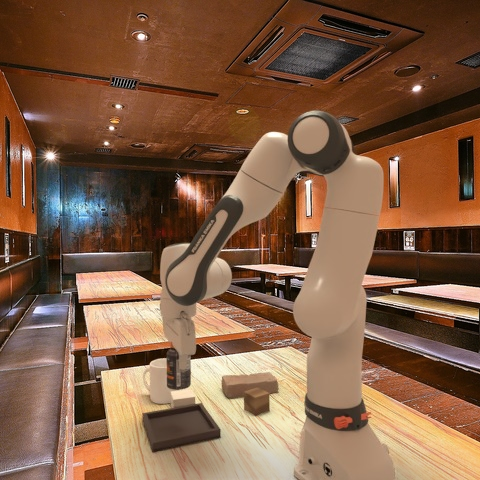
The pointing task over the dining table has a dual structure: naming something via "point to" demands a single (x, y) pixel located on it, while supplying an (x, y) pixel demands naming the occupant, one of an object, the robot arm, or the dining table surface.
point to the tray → (179, 426)
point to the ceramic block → (182, 398)
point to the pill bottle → (177, 371)
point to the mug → (158, 382)
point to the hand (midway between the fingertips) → (178, 363)
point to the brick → (248, 384)
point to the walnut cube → (256, 401)
